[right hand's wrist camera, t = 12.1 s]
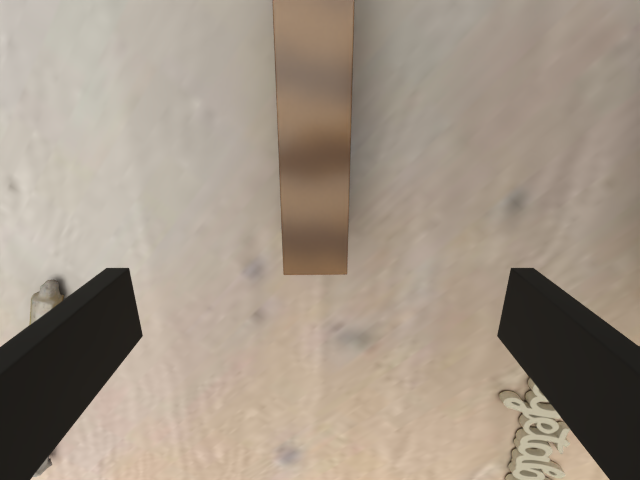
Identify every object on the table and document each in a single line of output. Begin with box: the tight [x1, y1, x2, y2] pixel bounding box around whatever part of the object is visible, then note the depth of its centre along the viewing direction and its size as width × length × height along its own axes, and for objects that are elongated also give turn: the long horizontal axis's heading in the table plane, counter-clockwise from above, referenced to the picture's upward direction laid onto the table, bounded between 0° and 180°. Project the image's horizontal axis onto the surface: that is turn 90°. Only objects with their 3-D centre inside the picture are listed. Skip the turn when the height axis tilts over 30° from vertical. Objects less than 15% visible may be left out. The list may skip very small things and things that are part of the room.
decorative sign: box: [499, 378, 570, 480], centre depth 42 cm, size 26×1×10 cm
